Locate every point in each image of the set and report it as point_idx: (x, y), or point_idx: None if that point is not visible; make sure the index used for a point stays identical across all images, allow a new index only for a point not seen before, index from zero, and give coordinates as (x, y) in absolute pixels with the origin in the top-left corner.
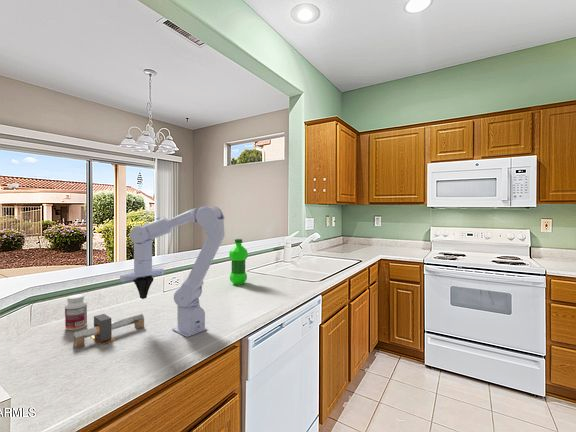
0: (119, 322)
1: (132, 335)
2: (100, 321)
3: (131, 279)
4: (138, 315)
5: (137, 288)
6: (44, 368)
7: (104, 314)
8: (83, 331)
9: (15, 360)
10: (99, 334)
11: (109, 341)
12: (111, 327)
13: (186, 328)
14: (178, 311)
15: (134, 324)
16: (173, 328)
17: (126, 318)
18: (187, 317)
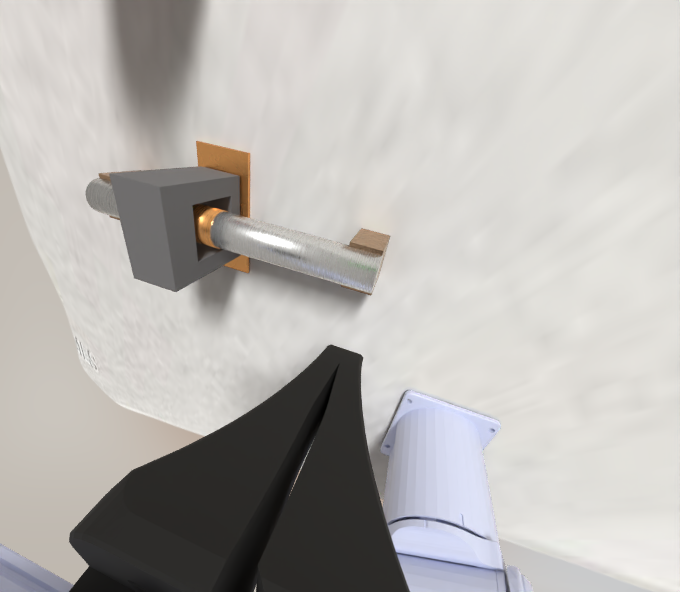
0: (251, 257)
1: (304, 293)
2: (136, 272)
3: (26, 576)
4: (348, 280)
5: (267, 402)
6: (85, 247)
7: (159, 204)
8: (115, 213)
9: (4, 105)
10: (204, 204)
11: (230, 265)
12: (210, 272)
13: (391, 461)
14: (391, 496)
15: (358, 232)
16: (408, 397)
17: (286, 258)
18: (385, 509)
